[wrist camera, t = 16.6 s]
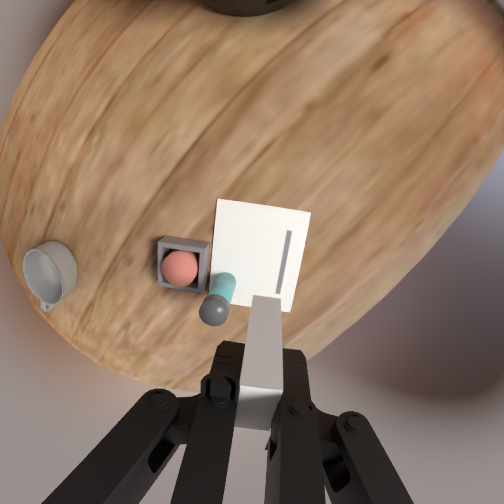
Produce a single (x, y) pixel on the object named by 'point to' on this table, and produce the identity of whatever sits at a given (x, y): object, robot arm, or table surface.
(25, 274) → the teacup
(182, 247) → the button housing
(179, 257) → the button
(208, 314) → the marker
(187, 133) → the table surface
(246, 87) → the table surface
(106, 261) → the table surface
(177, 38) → the table surface
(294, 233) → the paper
